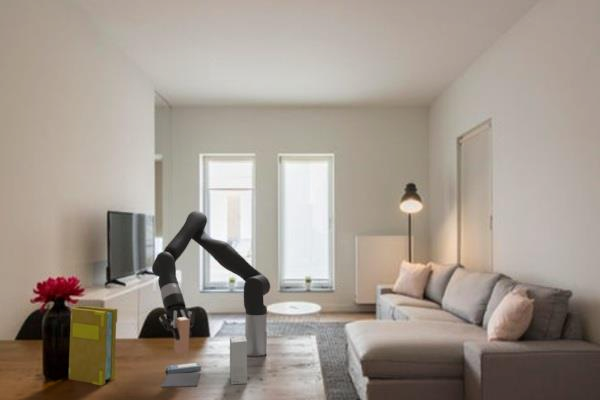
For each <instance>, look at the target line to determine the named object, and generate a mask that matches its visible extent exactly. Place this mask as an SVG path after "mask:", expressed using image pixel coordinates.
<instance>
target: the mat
mask: <svg viewBox="0 0 600 400" xmlns="http://www.w3.org/2000/svg"><path fill="white" fill-rule="evenodd" d="M201 374H202V373H201V372H182V373H173V374H168V373H167V374H166V377H165V378H164V380H163V382H162V385H161V388H162V389H163V388H183V387H184V388H186V387H192V388H193V387H198V385H199V381H200V378H201Z"/></svg>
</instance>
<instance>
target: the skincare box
mask: <svg viewBox="0 0 600 400" xmlns="http://www.w3.org/2000/svg"><path fill="white" fill-rule="evenodd" d="M229 379H230V384H231V385H246V384H248V355H247V340H246V337H245V335H241V336H240V335H239V336H229Z"/></svg>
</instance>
